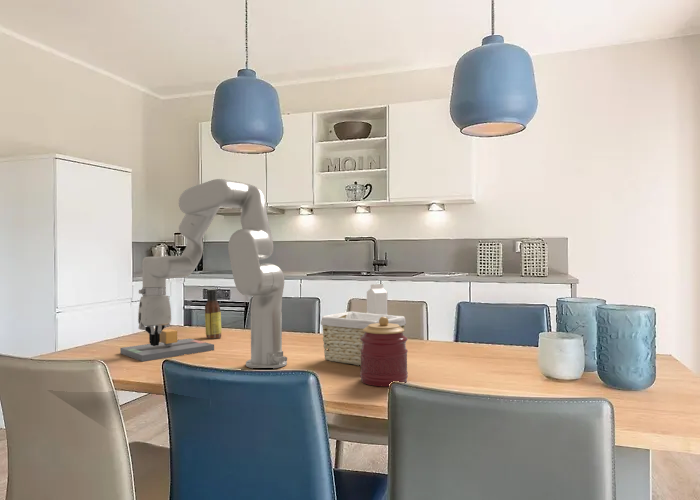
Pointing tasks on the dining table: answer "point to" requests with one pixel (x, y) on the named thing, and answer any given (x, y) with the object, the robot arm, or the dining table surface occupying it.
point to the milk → (377, 300)
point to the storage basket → (349, 334)
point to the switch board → (166, 349)
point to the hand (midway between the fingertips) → (154, 345)
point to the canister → (383, 354)
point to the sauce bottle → (212, 315)
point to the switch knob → (168, 336)
